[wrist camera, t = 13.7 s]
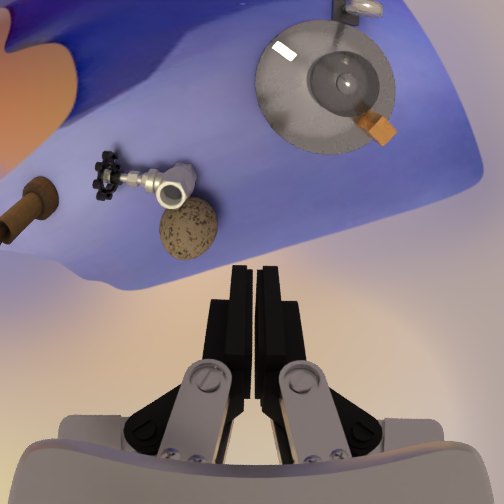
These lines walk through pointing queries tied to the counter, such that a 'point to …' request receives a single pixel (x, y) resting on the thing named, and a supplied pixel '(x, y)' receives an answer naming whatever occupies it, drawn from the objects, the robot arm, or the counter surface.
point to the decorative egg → (188, 228)
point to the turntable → (300, 101)
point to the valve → (146, 181)
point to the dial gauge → (355, 10)
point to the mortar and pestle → (28, 208)
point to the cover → (343, 83)
